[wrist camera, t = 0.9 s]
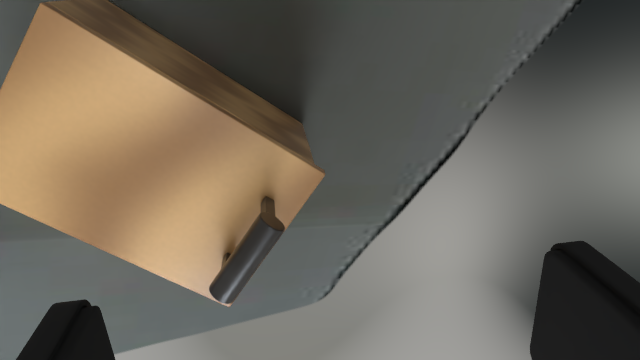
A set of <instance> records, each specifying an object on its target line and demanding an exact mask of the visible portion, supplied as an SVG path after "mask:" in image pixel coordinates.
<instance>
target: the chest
mask: <svg viewBox="0 0 640 360" xmlns="http://www.w3.org/2000/svg"><path fill="white" fill-rule="evenodd" d="M47 3H49V4H51V5H52V6H54V7H56V8H57V9H59V10H61V11H62V12H64V13H66V14H67V15H69V16H70V17H72V18H74V19H75V20H77V21H79V22H80V23H82V24H84V25H85V26H87V27H89V28H90V29H92V30H94V31H95V32H97V33H99V34H100V35H102V36H104V37H105V38H107V39H108V40H110V41H112V42H113V43H115V44H117V45H118V46H120V47H122V48H123V49H125V50H127V51H128V52H130V53H132V54H133V55H135V56H137V57H138V58H140V59H142V60H143V61H145V62H146V63H148V64H150V65H151V66H153V67H155V68H156V69H158V70H160V71H161V72H163V73H165V74H166V75H168V76H170V77H171V78H173V79H175V80H176V81H178V82H179V83H181V84H183V85H184V86H186V87H188V88H189V89H191V90H193V91H194V92H196V93H198V94H199V95H201V96H203V97H204V98H206V99H208V100H209V101H211V102H213V103H214V104H216V105H217V106H219V107H221V108H222V109H224V110H226V111H227V112H229V113H231V114H232V115H234V116H236V117H237V118H239V119H241V120H242V121H244V122H246V123H247V124H249V125H251V126H252V127H254V128H255V129H257V130H259V131H260V132H262V133H264V134H265V135H267V136H269V137H270V138H272V139H274V140H275V141H277V142H279V143H280V144H282V145H284V146H285V147H287V148H289V149H290V150H292V151H293V152H295V153H297V154H298V155H300V156H302V157H303V158H305V159H307V160H308V161H310V162H312V163H313V164H314V161H313V158H312V154H311V151H310V148H309V144H308V141H307V138H306V134H305V131H304V128H303V124H302V123H300V122H299V121H297V120H296V119H294V118H292V117H291V116H289V115H288V114H286V113H285V112H283V111H281V110H280V109H278V108H277V107H275V106H274V105H272V104H270V103H269V102H267V101H266V100H264V99H262V98H261V97H259V96H258V95H256V94H255V93H253V92H251V91H250V90H248V89H247V88H245V87H244V86H242V85H240V84H239V83H237V82H236V81H234V80H232V79H231V78H229V77H228V76H226V75H225V74H223V73H221V72H220V71H218V70H217V69H215V68H213V67H212V66H210V65H209V64H207V63H206V62H204V61H202V60H201V59H199V58H198V57H196V56H195V55H193V54H191V53H190V52H188V51H187V50H185V49H183V48H182V47H180V46H179V45H177V44H176V43H174V42H172V41H171V40H169V39H168V38H166V37H164V36H163V35H161V34H160V33H158V32H157V31H155V30H153V29H152V28H150V27H149V26H147V25H146V24H144V23H142V22H141V21H139V20H138V19H136V18H134V17H133V16H131V15H130V14H128V13H127V12H125V11H123V10H122V9H120V8H119V7H117V6H116V5H114V4H112V3H111V2H109V1H108V0H65V1H52V2H47Z"/></svg>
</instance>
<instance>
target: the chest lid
mask: <svg viewBox="0 0 640 360" xmlns="http://www.w3.org/2000/svg"><path fill="white" fill-rule="evenodd" d="M324 176H325V172H324V170H323V169H322V168H320V167H318V166H317V165H315V164H313V163H312V162H310V161H308V160H307V159H305V158H303V157H302V156H300V155H298V154H297V153H295V152H293V151H292V150H290V149H289V148H287V147H285V146H284V145H282V144H280V143H279V142H277V141H275V140H274V139H272V138H270V137H269V136H267V135H265V134H264V133H262V132H260V131H259V130H257V129H255V128H254V127H252V126H251V125H249V124H247V123H246V122H244V121H242V120H241V119H239V118H237V117H236V116H234V115H232V114H231V113H229V112H227V111H226V110H224V109H222V108H221V107H219V106H217V105H216V104H214V103H213V102H211V101H209V100H208V99H206V98H204V97H203V96H201V95H199V94H198V93H196V92H194V91H193V90H191V89H189V88H188V87H186V86H184V85H183V84H181V83H179V82H178V81H176V80H175V79H173V78H171V77H170V76H168V75H166V74H165V73H163V72H161V71H160V70H158V69H156V68H155V67H153V66H151V65H150V64H148V63H146V62H145V61H143V60H142V59H140V58H138V57H137V56H135V55H133V54H132V53H130V52H128V51H127V50H125V49H123V48H122V47H120V46H118V45H117V44H115V43H113V42H112V41H110V40H108V39H107V38H105V37H104V36H102V35H100V34H99V33H97V32H95V31H94V30H92V29H90V28H89V27H87V26H85V25H84V24H82V23H80V22H79V21H77V20H75V19H74V18H72V17H70V16H69V15H67V14H66V13H64V12H62V11H61V10H59V9H57V8H56V7H54V6H52V5H51V4H49V3H47V2H42V3H40V4H39V6H38V9H37V11H36V13H35V15H34V17H33V20H32V22H31V24H30V26H29V28H28V30H27V33H26V35H25V37H24V39H23V41H22V43H21V46H20V48H19V50H18V52H17V54H16V57H15V59H14V61H13V63H12V65H11V67H10V70H9V72H8V74H7V76H6V78H5V80H4V83H3V85H2V87H1V89H0V204H2V205H5V206H7V207H9V208H11V209H13V210H16V211H18V212H20V213H22V214H24V215H27V216H29V217H31V218H33V219H35V220H38V221H40V222H42V223H44V224H46V225H49V226H51V227H53V228H55V229H57V230H60V231H62V232H64V233H66V234H69V235H71V236H73V237H75V238H77V239H80V240H82V241H84V242H86V243H88V244H91V245H93V246H95V247H97V248H99V249H102V250H104V251H106V252H108V253H110V254H113V255H115V256H117V257H119V258H121V259H124V260H126V261H128V262H130V263H132V264H135V265H137V266H139V267H141V268H144V269H146V270H148V271H150V272H152V273H155V274H157V275H159V276H161V277H163V278H166V279H168V280H170V281H172V282H174V283H177V284H179V285H181V286H183V287H185V288H188V289H190V290H192V291H194V292H196V293H199V294H201V295H203V296H205V297H207V298H210V299H212V300H214V301H216V302H219V303H221V304H223V305H225V306H227V307H230V306H231V304H232V303H233V302H234V300H235V299H236V297H237V296H238V295H239V293H240V292H241V291H242V289H243V288H244V286H245V285H246V284H247V282H248V281H249V279H250V278H251V277H252V275H253V274H254V273H255V271H256V270H257V268H258V267H259V266H260V264H261V263H262V262H263V260H264V259H265V257H266V256H267V255H268V253H269V252H270V250H271V249H272V248H273V246H274V245H275V244H276V242H277V241H278V239H279V238H280V237H281V235H282V234H283V232H284V231H285V230H286V228H287V227H288V226H289V224H290V223H291V221H292V220H293V219H294V217H295V216H296V215H297V213H298V212H299V210H300V209H301V208H302V206H303V205H304V203H305V202H306V201H307V199H308V198H309V197H310V195H311V194H312V192H313V191H314V190H315V188H316V187H317V186H318V184H319V183H320V181H321V180H322V179H323V177H324Z"/></svg>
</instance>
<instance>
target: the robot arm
mask: <svg viewBox="0 0 640 360" xmlns="http://www.w3.org/2000/svg"><path fill="white" fill-rule="evenodd" d="M530 354H531V357H532V360H640V283H639V282H638V281H636V280H635V279H634V278H632V277H631V276H630V275H629V274H627V273H626V272H625V271H623V270H622V269H621V268H619V267H618V266H617V265H615V264H614V263H613V262H611V261H610V260H609V259H608V258H606V257H605V256H604V255H602V254H601V253H600V252H598V251H597V250H595V249H594V248H593V247H592V246H591V245H589V244H588V243H586V242H584V241H575V242H566V243H558V244H555V245H553V247H552V248H551V251H549V252H547V253H546V254H545V257H544V262H543V269H542V275H541V281H540V288H539V293H538V300H537V306H536V312H535V319H534V325H533V332H532V338H531V344H530ZM16 360H115V357H114V354H113V350H112V347H111V344H110V340H109V337H108V333H107V330H106V327H105V323H104V320H103V317H102V313H101V310H100V308H99V307H98V306H91V304H90V303H89V302H88V301H87V300H77V301H69V302H60V303H55V304H53V305H52V306H51V307H50V309H49V310H48V312H47V313H46V315H45V316H44V318H43V319H42V321H41V322H40V324H39V325H38V327H37V328H36V330H35V331H34V333H33V335H32V336H31V338H30V339H29V341H28V342H27V344H26V345H25V347H24V348H23V350H22V351H21V353H20V354H19V356H18V357H17V359H16Z"/></svg>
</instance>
